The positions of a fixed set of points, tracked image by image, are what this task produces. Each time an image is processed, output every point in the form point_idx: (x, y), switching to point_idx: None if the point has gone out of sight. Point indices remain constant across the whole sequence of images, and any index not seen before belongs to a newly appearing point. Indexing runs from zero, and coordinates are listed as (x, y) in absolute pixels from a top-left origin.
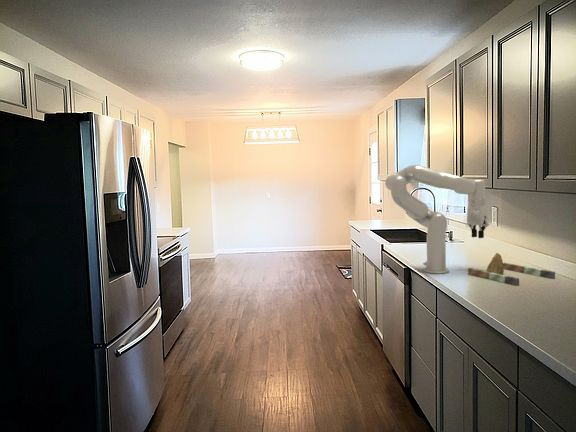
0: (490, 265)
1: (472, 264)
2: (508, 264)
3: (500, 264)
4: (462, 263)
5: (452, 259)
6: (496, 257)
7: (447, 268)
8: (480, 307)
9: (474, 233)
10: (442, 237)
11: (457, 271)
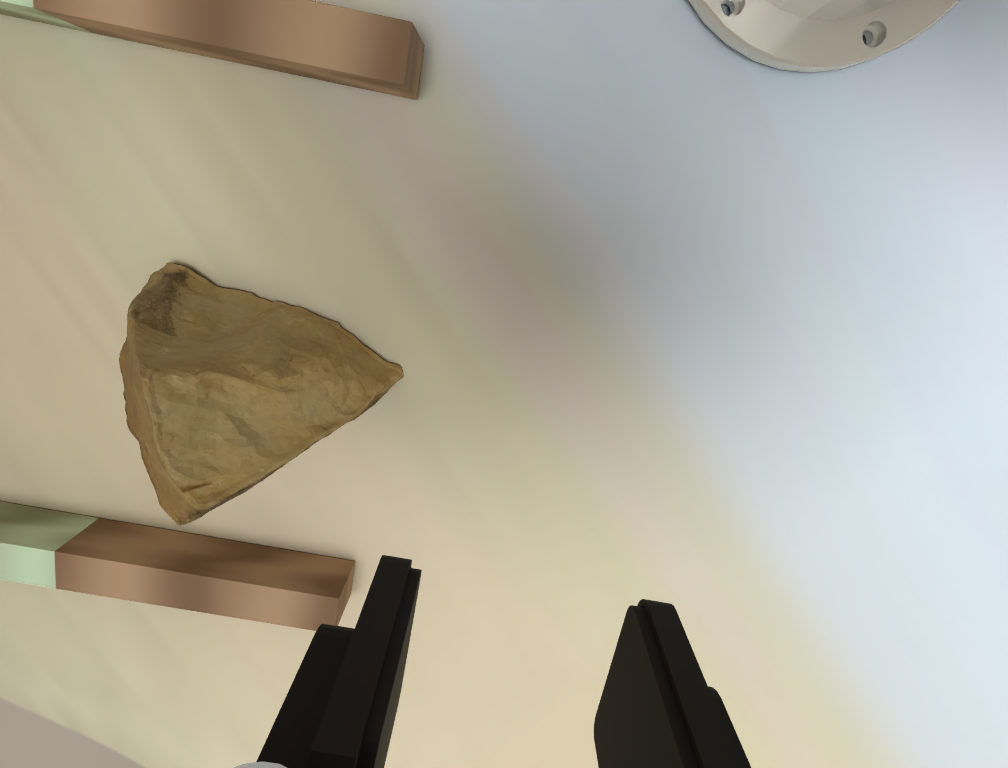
0: (296, 352)
1: (689, 555)
2: (255, 583)
3: (127, 344)
4: (801, 534)
5: (991, 640)
6: (139, 380)
7: (747, 41)
8: None
9: (636, 743)
10: None
11: (616, 106)
